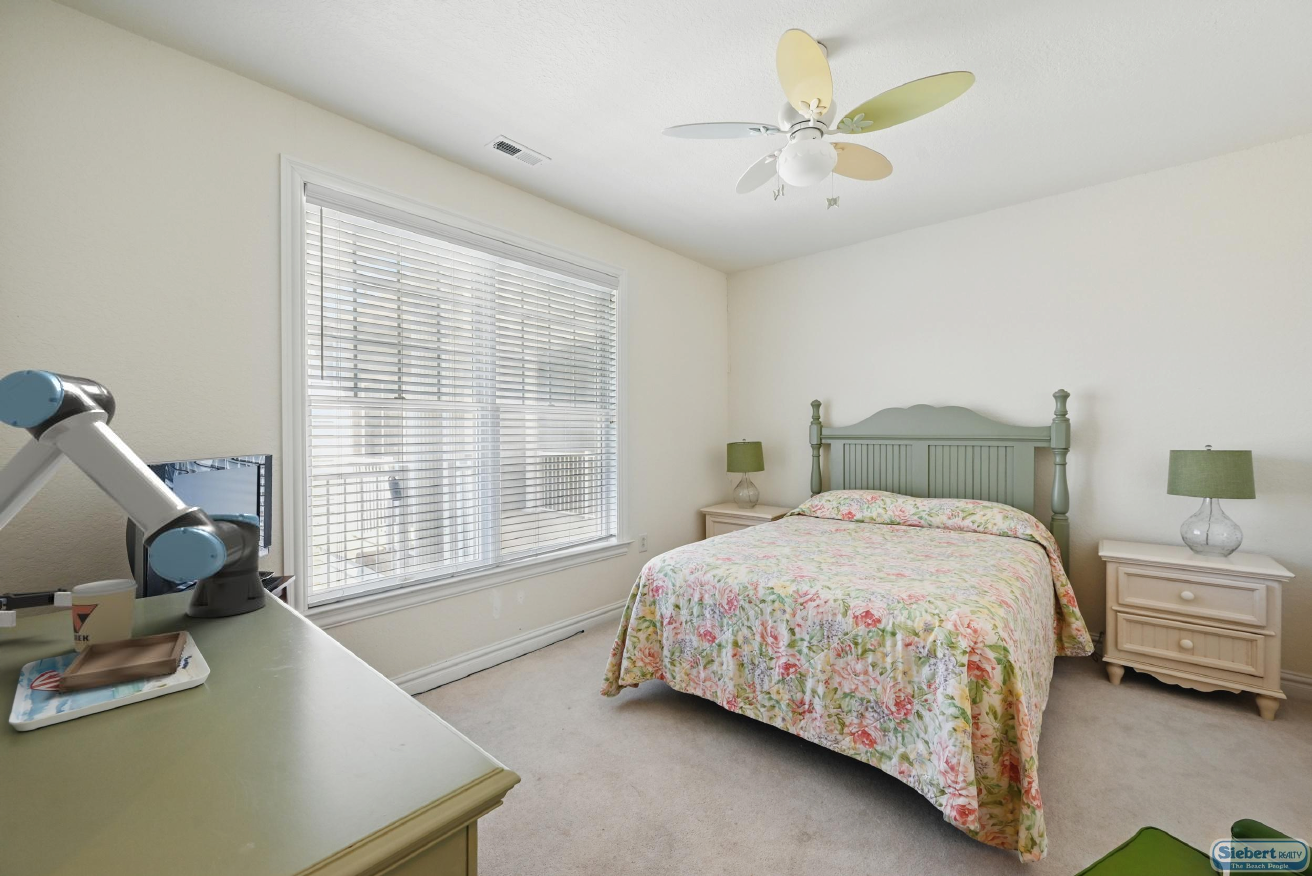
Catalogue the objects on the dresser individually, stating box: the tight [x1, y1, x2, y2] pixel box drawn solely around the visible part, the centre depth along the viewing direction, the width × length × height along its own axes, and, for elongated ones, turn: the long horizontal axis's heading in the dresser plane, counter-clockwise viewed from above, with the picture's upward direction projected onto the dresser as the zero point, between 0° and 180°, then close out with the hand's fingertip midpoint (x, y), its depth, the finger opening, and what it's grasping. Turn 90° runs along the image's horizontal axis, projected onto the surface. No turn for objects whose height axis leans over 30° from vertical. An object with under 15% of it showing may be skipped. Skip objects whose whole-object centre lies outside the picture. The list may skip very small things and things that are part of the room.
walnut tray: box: [58, 630, 187, 693], centre depth 98 cm, size 14×18×2 cm
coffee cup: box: [70, 578, 138, 653], centre depth 108 cm, size 9×9×12 cm
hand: (53, 608), depth 108 cm, fingers open, 13 cm apart
